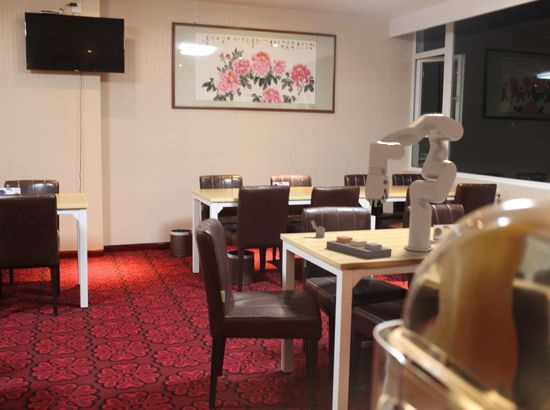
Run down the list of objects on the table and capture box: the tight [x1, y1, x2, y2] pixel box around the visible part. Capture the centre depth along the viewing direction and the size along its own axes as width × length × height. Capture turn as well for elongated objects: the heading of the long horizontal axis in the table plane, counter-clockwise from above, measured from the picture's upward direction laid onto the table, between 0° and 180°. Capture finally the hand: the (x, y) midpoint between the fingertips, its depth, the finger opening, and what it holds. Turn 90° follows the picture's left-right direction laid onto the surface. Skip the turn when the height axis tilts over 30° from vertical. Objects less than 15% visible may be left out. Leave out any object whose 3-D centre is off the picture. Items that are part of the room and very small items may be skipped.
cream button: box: [350, 238, 368, 247], centre depth 258 cm, size 5×5×3 cm
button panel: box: [326, 240, 392, 260], centre depth 258 cm, size 14×26×3 cm, turn 35°
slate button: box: [365, 242, 383, 250], centre depth 250 cm, size 5×5×3 cm
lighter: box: [310, 219, 326, 238], centre depth 294 cm, size 7×2×8 cm, turn 65°
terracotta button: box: [336, 235, 354, 243], centre depth 265 cm, size 5×5×3 cm
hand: (374, 215), depth 249 cm, fingers closed
